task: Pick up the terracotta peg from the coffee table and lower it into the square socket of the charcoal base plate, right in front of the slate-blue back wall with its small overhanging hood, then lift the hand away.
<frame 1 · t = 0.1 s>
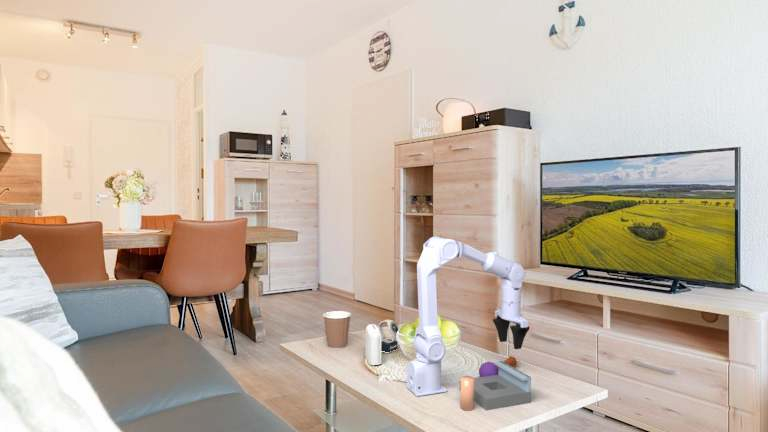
hand: (510, 345, 155), 10 cm above the table, tool pointing down, fingers open, 7 cm apart
socket: (494, 396, 141), on the table
watch: (388, 351, 181), on the table
kendama: (498, 375, 158), on the table
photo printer: (373, 362, 169), on the table
coffee cup: (337, 346, 185), on the table
peg: (467, 408, 133), on the table
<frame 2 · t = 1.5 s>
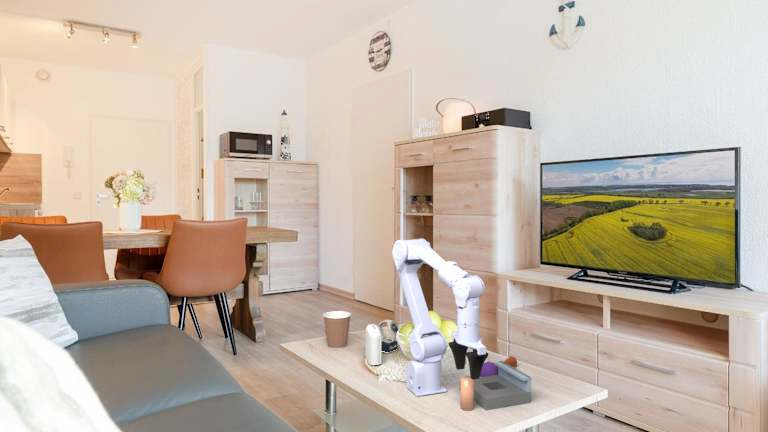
hand: (467, 373, 132), 9 cm above the table, tool pointing down, fingers open, 7 cm apart
nothing on the table moved.
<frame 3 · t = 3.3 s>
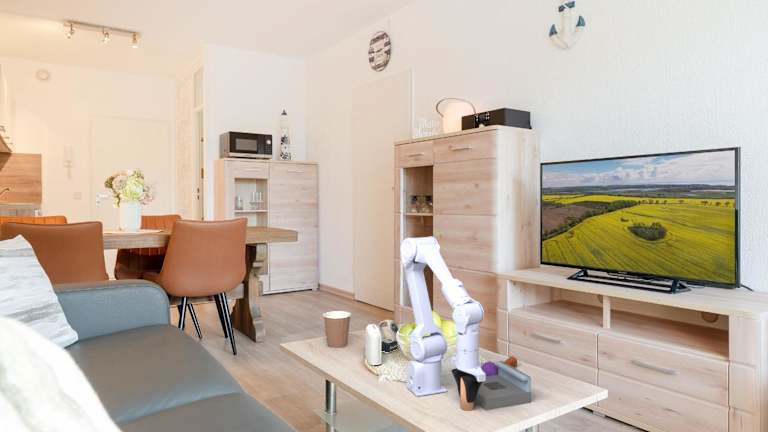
hand: (467, 399, 133), 2 cm above the table, tool pointing down, fingers closed on peg, 3 cm apart
peg: (467, 408, 133), on the table, touching gripper
everything else where it was.
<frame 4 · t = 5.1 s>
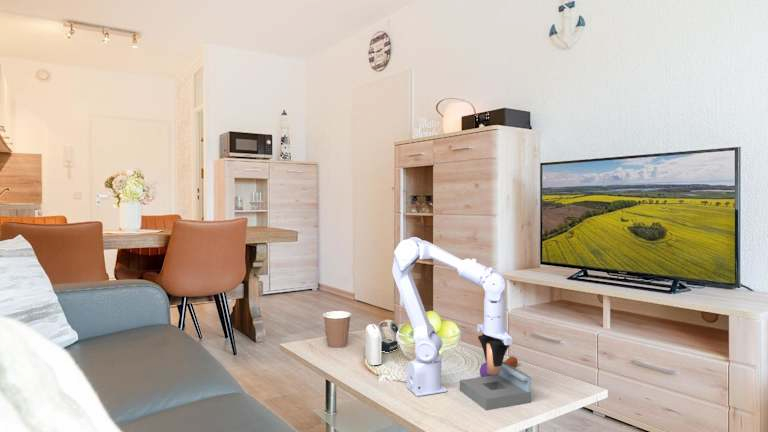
hand: (493, 363, 140), 9 cm above the table, tool pointing down, fingers closed on peg, 3 cm apart
peg: (493, 372, 140), point 7 cm above the table, touching gripper
everything else where it was.
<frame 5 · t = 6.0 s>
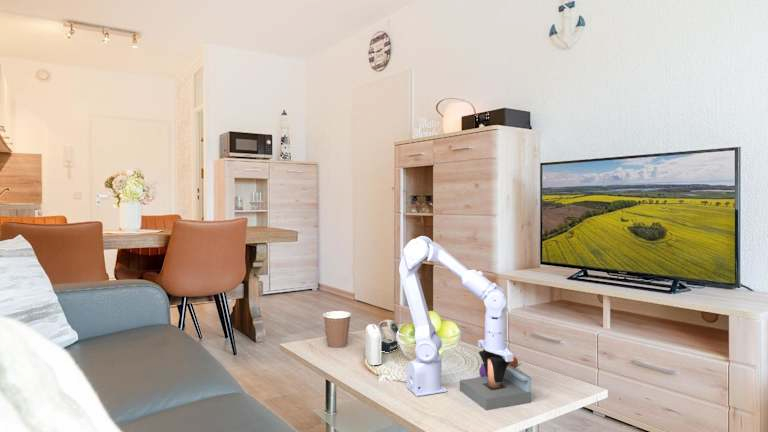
hand: (494, 379, 140), 5 cm above the table, tool pointing down, fingers closed on peg, 3 cm apart
peg: (494, 387, 140), point 2 cm above the table, touching gripper
everything else where it was.
when the fingers open (4 cm above the table, at t = 7.0 s): peg drops 1 cm, on the table.
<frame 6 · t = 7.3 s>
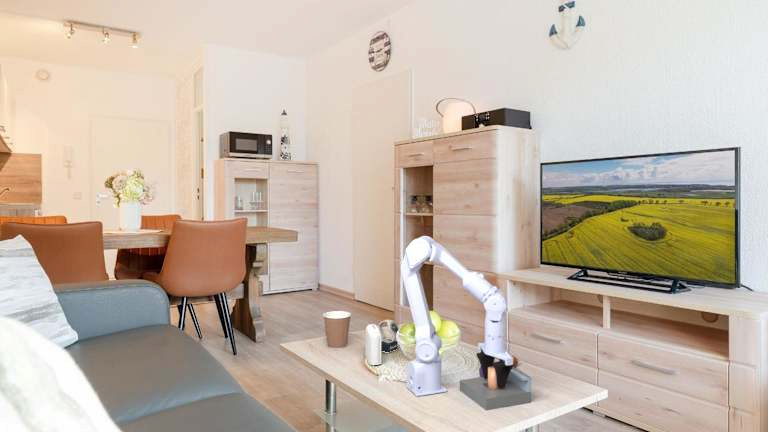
hand: (494, 382, 140), 4 cm above the table, tool pointing down, fingers open, 6 cm apart
peg: (493, 396, 141), on the table
everything else where it was.
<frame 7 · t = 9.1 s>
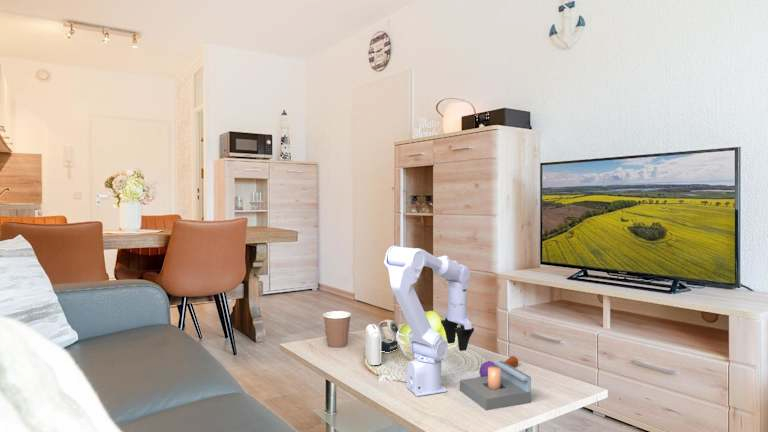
hand: (456, 346, 155), 9 cm above the table, tool pointing down, fingers open, 7 cm apart
nothing on the table moved.
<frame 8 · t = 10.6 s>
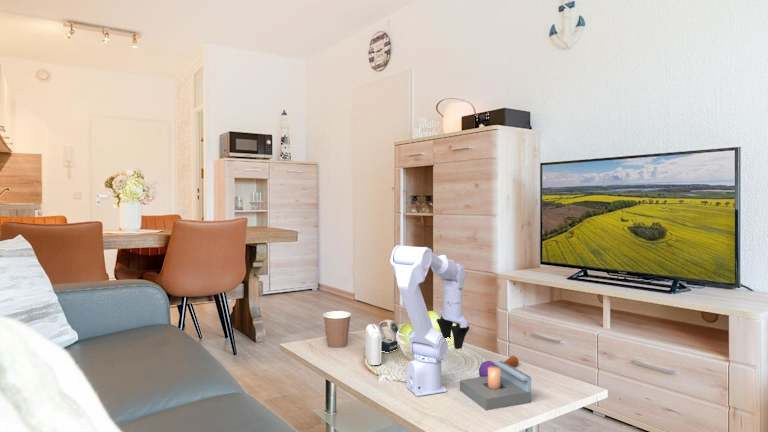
hand: (452, 344, 157), 9 cm above the table, tool pointing down, fingers open, 7 cm apart
nothing on the table moved.
at the end: peg 0.1 cm off-centre on the socket, point 0.0 cm above the socket's base; peg tilted 0°; the gripper is holding nothing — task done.
